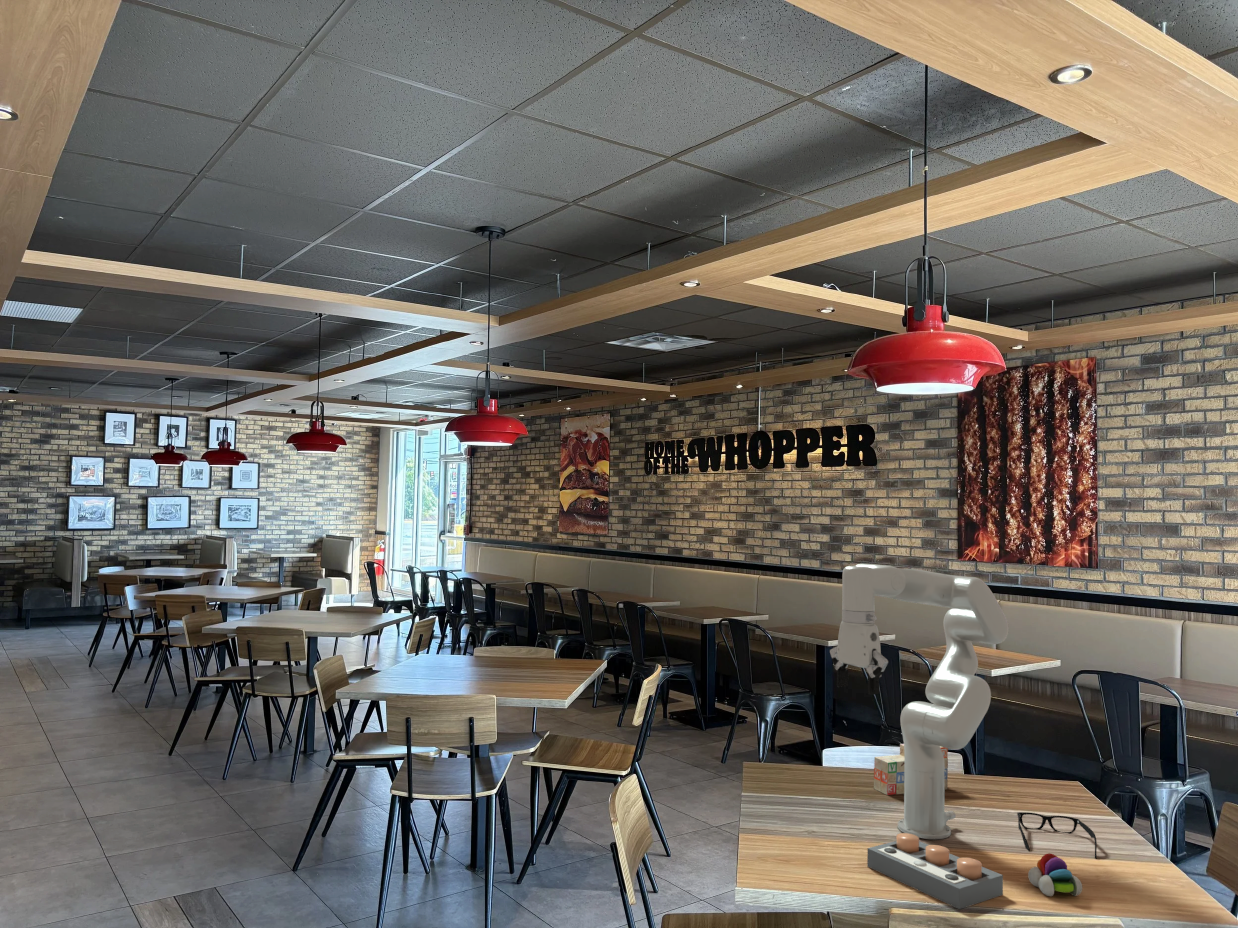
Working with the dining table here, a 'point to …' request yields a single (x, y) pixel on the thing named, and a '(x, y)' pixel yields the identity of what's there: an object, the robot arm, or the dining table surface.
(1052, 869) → the rainbow wheeled toy
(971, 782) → the dining table surface
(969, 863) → the button
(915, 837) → the button
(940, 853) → the button
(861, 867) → the dining table surface
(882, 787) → the stack of blocks
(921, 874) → the button board
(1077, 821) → the glasses
